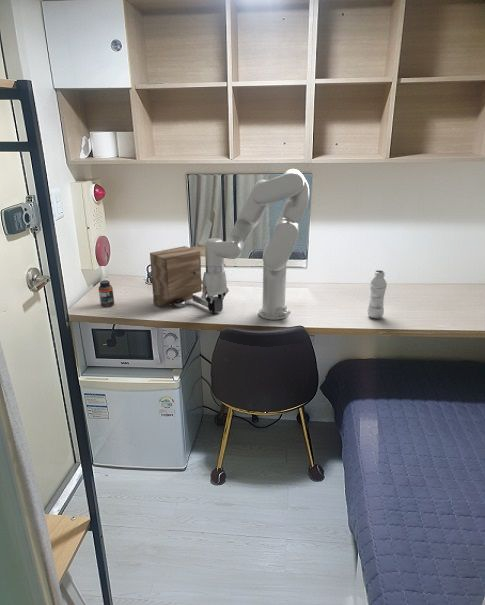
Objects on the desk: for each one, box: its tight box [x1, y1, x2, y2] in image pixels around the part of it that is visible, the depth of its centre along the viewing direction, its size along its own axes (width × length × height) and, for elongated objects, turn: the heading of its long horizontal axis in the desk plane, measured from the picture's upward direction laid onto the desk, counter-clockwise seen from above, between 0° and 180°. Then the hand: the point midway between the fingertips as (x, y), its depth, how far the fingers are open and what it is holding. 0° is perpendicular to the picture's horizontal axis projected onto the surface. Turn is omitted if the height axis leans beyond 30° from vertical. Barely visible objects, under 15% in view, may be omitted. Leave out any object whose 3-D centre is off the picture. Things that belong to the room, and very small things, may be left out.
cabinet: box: [149, 245, 203, 309], centre depth 202 cm, size 13×18×24 cm
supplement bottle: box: [98, 279, 115, 308], centre depth 203 cm, size 6×6×11 cm
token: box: [173, 299, 187, 309], centre depth 203 cm, size 5×5×2 cm
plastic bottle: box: [367, 270, 388, 319], centre depth 188 cm, size 6×7×20 cm
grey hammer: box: [192, 294, 223, 314], centre depth 200 cm, size 18×4×6 cm, turn 41°
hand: (215, 309), depth 196 cm, fingers closed on grey hammer, 4 cm apart
